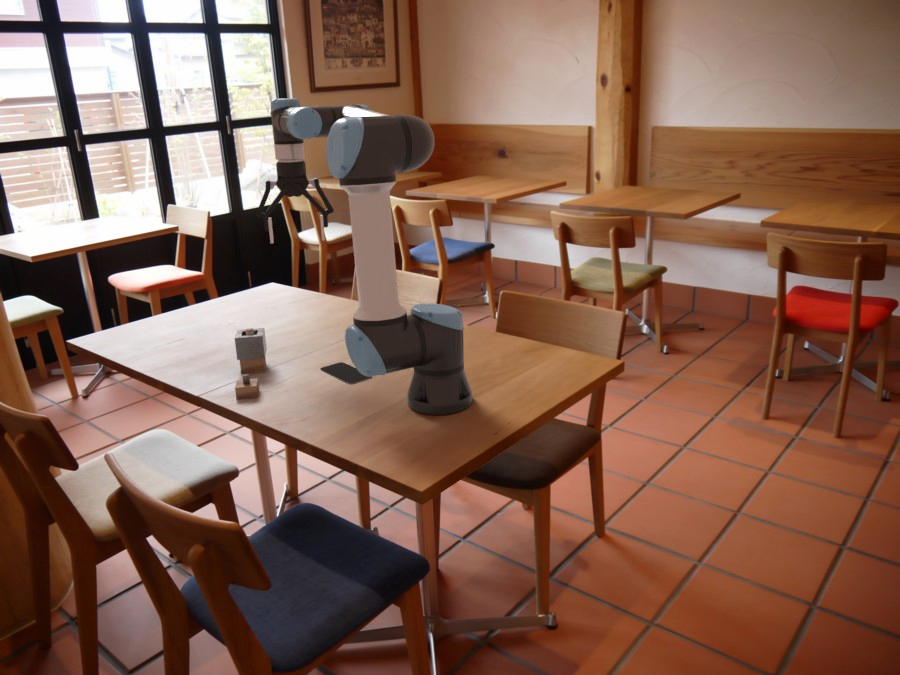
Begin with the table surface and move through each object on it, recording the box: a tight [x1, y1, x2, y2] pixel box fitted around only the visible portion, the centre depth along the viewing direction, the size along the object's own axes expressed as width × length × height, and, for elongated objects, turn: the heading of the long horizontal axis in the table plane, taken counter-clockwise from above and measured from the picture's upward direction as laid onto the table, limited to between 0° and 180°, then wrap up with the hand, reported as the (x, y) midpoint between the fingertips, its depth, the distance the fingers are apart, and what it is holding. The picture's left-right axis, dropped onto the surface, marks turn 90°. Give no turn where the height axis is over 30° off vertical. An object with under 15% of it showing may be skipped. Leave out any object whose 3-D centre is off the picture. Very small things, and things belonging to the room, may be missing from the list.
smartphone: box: [320, 361, 373, 385], centre depth 193 cm, size 7×1×15 cm
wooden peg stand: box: [239, 327, 267, 375], centre depth 196 cm, size 6×6×11 cm
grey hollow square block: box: [234, 327, 267, 361], centre depth 196 cm, size 7×7×6 cm
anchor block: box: [234, 373, 260, 400], centre depth 180 cm, size 5×5×5 cm
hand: (297, 241), depth 200 cm, fingers open, 13 cm apart
